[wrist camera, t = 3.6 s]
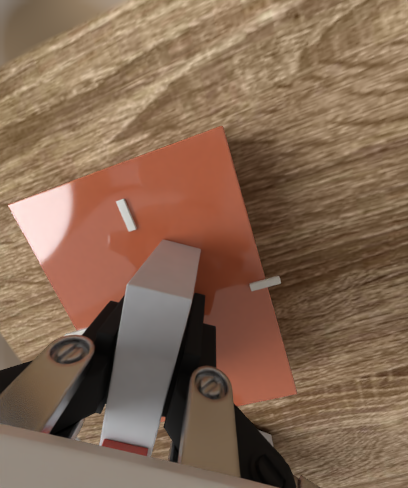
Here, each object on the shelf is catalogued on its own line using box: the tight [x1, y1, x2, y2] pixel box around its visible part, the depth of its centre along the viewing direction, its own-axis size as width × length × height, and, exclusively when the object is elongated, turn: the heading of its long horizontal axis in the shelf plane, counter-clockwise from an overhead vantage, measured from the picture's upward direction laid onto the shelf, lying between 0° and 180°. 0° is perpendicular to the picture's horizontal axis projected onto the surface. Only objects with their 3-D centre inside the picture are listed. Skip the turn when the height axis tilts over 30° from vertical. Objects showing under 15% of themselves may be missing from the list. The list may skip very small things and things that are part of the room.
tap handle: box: [100, 239, 201, 457], centre depth 9 cm, size 7×2×5 cm, turn 166°
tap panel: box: [8, 126, 297, 422], centre depth 13 cm, size 14×11×3 cm
